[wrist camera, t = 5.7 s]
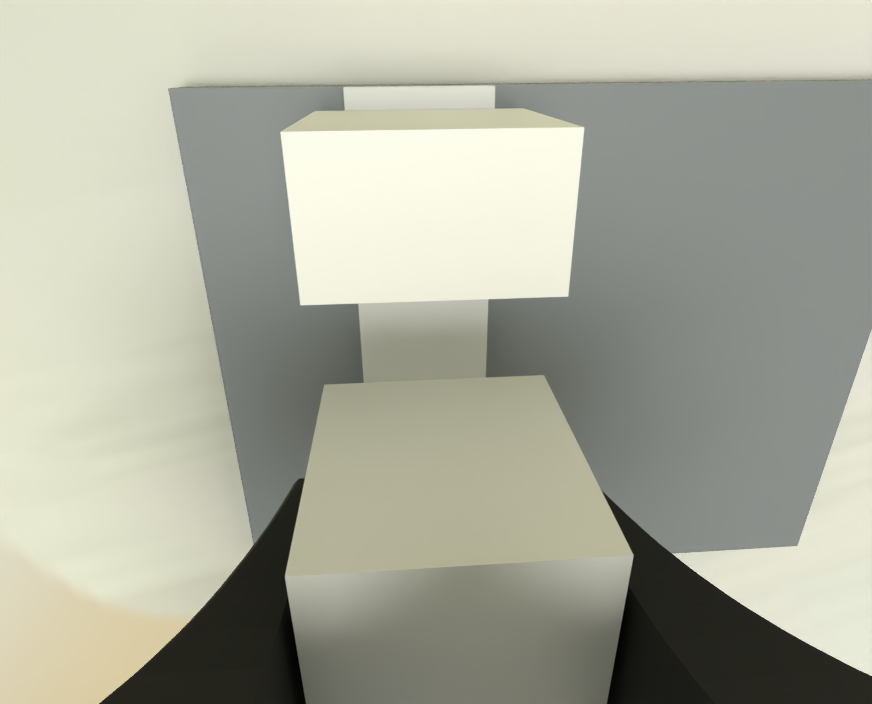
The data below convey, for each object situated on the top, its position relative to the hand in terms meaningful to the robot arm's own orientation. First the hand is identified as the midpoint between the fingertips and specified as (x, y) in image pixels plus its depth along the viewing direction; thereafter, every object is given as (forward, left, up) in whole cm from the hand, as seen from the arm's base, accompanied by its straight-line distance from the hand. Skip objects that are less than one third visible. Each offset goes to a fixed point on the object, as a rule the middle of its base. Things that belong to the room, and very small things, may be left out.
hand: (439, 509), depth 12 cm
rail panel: (0, -4, -7) cm, 8 cm away
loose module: (0, 0, -1) cm, 1 cm away
